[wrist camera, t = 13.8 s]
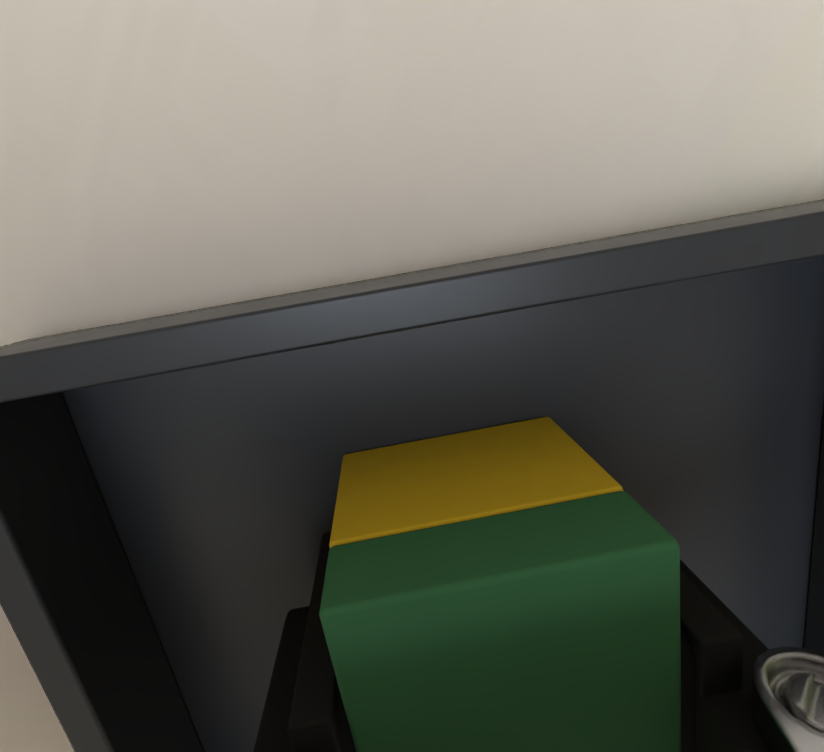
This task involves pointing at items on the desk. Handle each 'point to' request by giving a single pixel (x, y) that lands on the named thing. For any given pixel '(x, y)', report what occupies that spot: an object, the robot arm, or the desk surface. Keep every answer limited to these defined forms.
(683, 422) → the pan
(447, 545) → the sponge
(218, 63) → the desk surface
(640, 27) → the desk surface
